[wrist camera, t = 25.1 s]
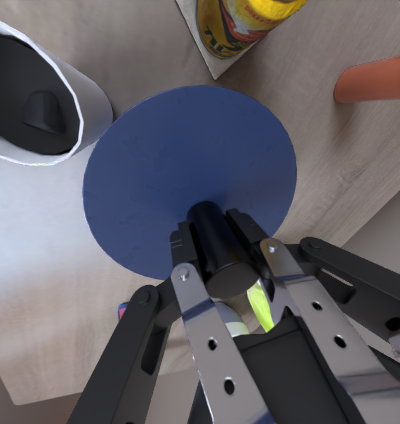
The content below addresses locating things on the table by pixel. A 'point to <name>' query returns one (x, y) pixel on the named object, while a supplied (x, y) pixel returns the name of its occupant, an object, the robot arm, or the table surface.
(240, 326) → the bowl
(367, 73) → the orange cylinder
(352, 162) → the table surface
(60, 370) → the table surface
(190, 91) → the lid
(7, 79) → the white coffee cup
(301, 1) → the condiment
